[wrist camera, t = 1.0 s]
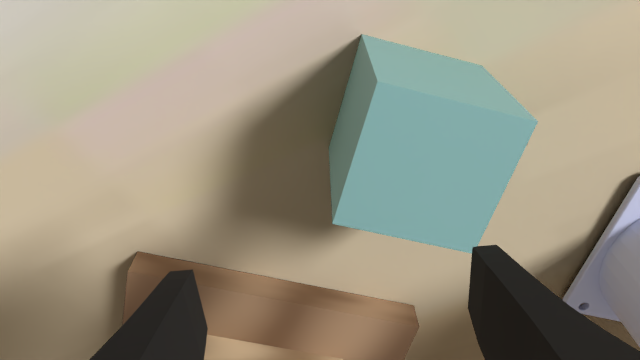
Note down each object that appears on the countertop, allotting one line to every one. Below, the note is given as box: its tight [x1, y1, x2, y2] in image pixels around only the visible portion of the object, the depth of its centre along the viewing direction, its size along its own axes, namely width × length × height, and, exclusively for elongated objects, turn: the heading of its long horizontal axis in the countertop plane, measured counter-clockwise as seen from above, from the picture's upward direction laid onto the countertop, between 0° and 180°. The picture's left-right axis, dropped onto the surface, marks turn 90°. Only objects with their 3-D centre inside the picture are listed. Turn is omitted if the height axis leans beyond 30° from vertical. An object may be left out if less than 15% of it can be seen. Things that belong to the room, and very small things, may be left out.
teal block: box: [329, 35, 538, 253], centre depth 19 cm, size 5×5×6 cm
